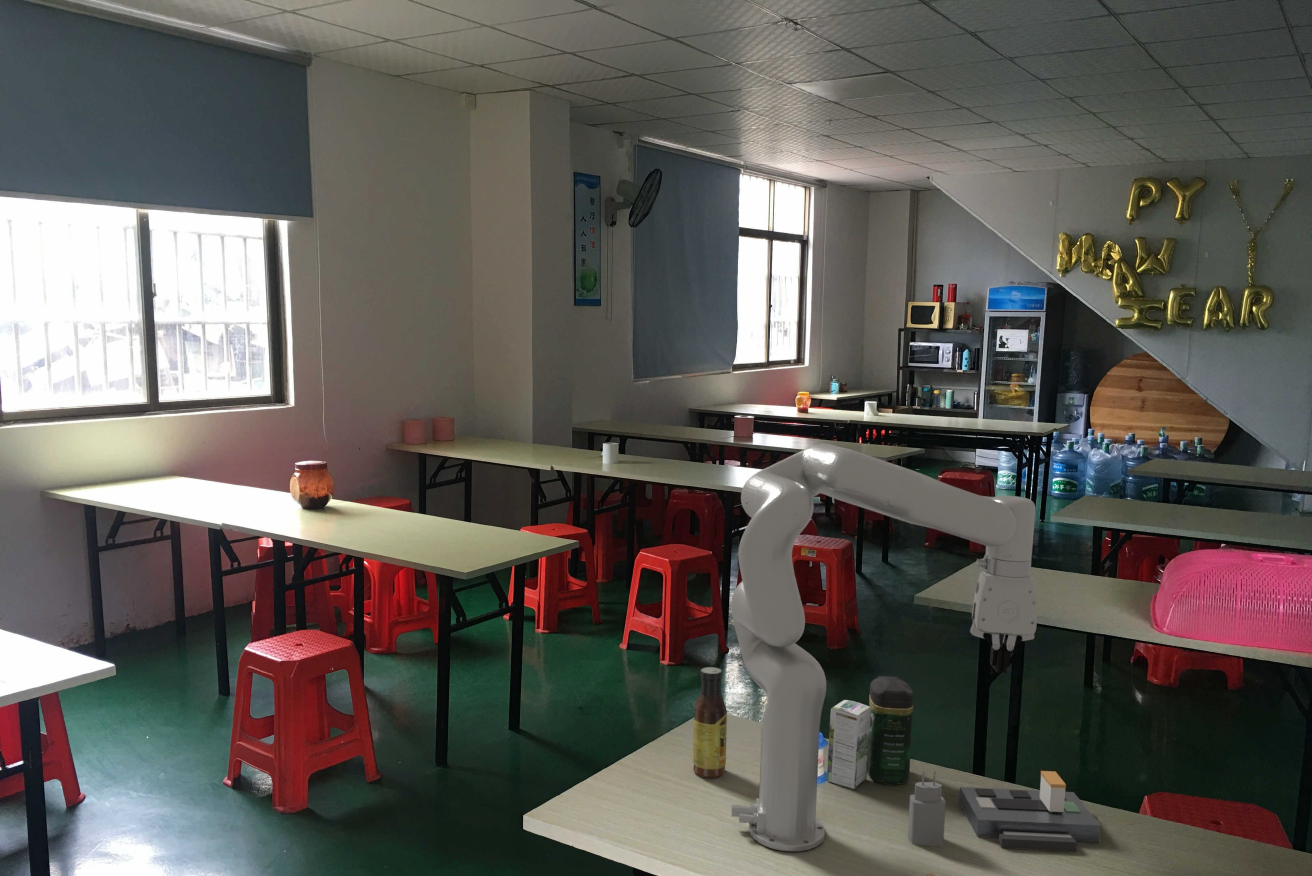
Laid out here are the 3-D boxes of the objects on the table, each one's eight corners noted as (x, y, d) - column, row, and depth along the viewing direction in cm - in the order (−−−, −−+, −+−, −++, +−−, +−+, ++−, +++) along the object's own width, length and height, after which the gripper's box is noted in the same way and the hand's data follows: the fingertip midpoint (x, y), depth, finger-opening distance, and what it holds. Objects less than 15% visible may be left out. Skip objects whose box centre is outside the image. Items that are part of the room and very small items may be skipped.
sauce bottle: (726, 779, 183) (729, 677, 181) (692, 778, 183) (695, 676, 181) (724, 764, 189) (727, 665, 187) (692, 763, 189) (694, 664, 187)
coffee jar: (913, 788, 181) (918, 691, 179) (869, 785, 182) (874, 689, 180) (904, 765, 191) (908, 673, 189) (862, 763, 191) (867, 671, 189)
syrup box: (839, 770, 188) (842, 697, 186) (868, 779, 184) (871, 705, 183) (826, 781, 183) (829, 706, 181) (855, 790, 180) (858, 714, 178)
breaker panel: (977, 836, 164) (978, 818, 163) (959, 802, 176) (960, 785, 175) (1099, 842, 163) (1100, 824, 162) (1072, 808, 174) (1073, 790, 174)
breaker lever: (1049, 811, 166) (1051, 783, 166) (1039, 797, 171) (1040, 770, 171) (1064, 812, 166) (1066, 784, 165) (1053, 798, 171) (1055, 771, 170)
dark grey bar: (1001, 847, 160) (1002, 838, 160) (996, 838, 163) (996, 829, 163) (1076, 851, 159) (1076, 842, 159) (1069, 842, 162) (1070, 833, 162)
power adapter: (906, 835, 164) (910, 766, 162) (938, 835, 164) (942, 766, 162) (911, 844, 161) (915, 774, 159) (944, 845, 161) (948, 775, 159)
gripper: (968, 569, 166) (960, 673, 168) (1058, 575, 165) (1049, 680, 167) (958, 560, 174) (951, 660, 176) (1045, 565, 173) (1036, 666, 174)
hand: (999, 669), depth 171 cm, fingers closed
